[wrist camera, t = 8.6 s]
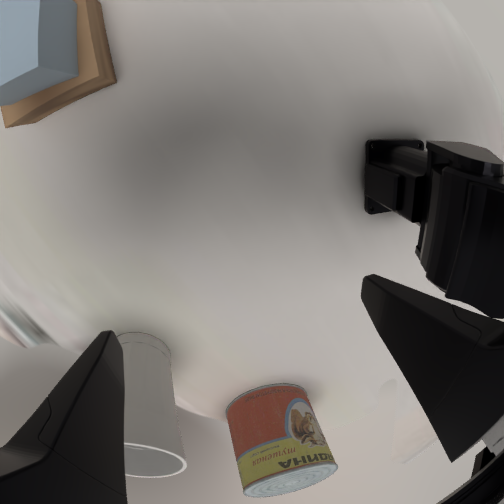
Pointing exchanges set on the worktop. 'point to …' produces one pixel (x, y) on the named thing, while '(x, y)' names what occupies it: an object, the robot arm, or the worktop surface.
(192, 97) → the worktop surface
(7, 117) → the walnut block
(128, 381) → the cup
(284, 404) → the canned food
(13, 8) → the cube
